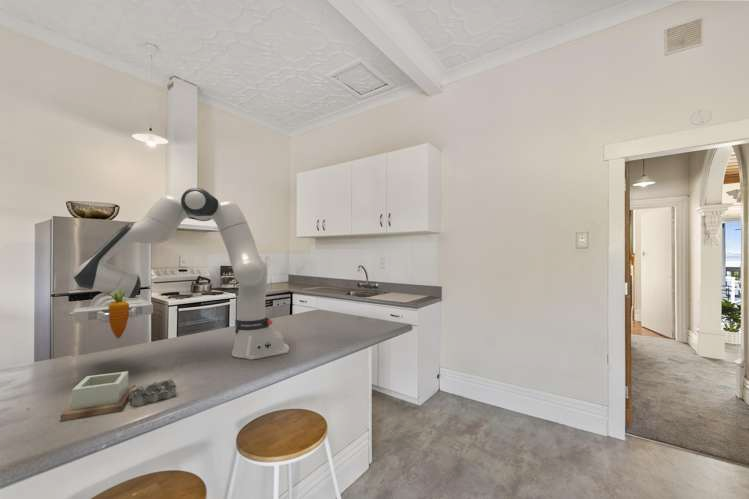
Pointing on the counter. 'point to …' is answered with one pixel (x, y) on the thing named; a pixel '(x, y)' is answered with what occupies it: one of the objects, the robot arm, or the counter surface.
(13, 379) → the counter surface
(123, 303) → the carrot
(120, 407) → the walnut board
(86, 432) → the counter surface
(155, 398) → the egg carton
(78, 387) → the square open planter
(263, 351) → the robot arm
